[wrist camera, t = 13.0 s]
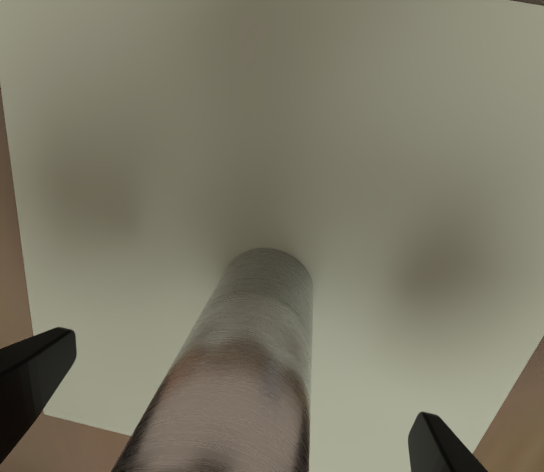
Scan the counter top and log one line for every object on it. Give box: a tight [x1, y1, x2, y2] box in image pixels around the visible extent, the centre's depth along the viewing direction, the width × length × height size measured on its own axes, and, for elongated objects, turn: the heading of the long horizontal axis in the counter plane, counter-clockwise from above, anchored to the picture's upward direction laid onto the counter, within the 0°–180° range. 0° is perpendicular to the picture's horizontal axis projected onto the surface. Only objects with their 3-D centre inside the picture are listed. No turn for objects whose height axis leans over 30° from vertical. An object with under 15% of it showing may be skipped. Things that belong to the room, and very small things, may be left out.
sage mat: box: [0, 0, 544, 472], centre depth 13 cm, size 20×20×1 cm
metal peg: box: [111, 248, 314, 472], centre depth 8 cm, size 5×5×10 cm
